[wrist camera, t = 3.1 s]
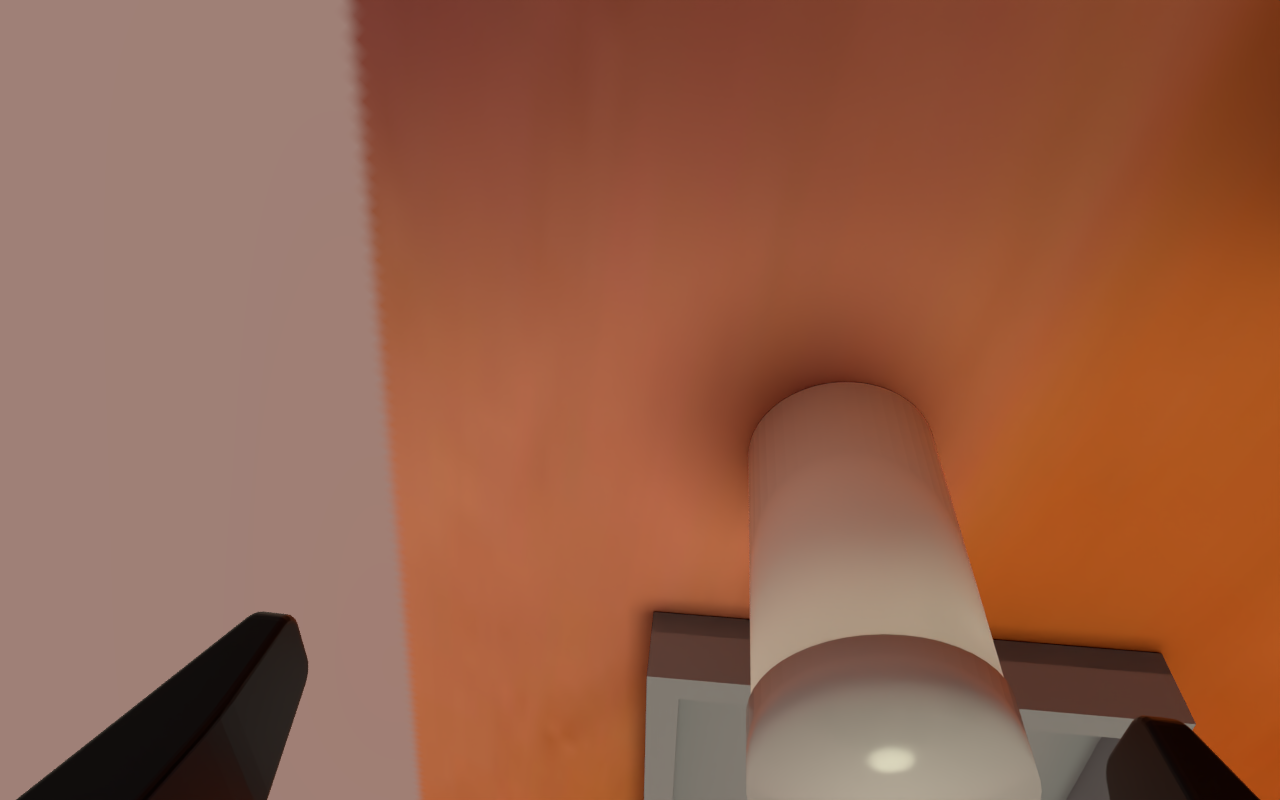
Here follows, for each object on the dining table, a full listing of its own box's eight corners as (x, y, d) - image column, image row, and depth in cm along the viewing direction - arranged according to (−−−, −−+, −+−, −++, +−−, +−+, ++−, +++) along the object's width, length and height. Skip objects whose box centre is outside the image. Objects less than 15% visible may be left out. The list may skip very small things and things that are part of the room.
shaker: (957, 385, 22) (1080, 727, 14) (916, 532, 25) (999, 881, 17) (752, 372, 22) (759, 699, 14) (737, 518, 25) (736, 854, 17)
